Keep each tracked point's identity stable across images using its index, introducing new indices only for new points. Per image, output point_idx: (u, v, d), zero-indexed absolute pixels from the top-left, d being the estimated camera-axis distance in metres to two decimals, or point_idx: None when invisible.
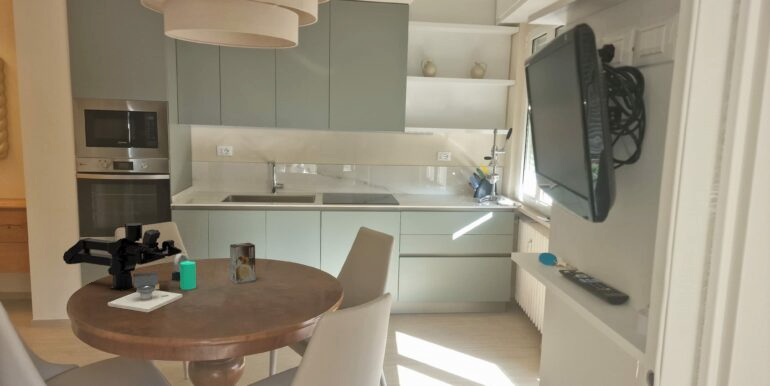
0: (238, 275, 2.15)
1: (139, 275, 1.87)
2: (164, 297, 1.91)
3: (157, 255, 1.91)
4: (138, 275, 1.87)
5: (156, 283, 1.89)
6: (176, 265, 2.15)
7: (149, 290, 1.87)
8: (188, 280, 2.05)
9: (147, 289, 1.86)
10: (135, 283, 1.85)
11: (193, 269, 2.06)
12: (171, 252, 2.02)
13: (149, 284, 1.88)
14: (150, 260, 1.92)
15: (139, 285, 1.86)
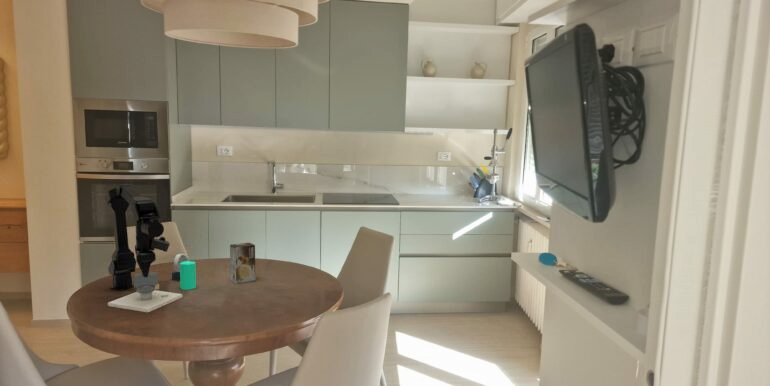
0: (238, 275, 2.15)
1: (139, 275, 1.87)
2: (164, 297, 1.91)
3: (147, 270, 1.84)
4: (138, 275, 1.87)
5: (156, 283, 1.89)
6: (176, 265, 2.15)
7: (149, 290, 1.87)
8: (188, 280, 2.05)
9: (147, 289, 1.86)
10: (135, 283, 1.85)
11: (193, 269, 2.06)
12: None
13: (149, 284, 1.88)
14: (140, 265, 1.82)
15: (139, 285, 1.86)
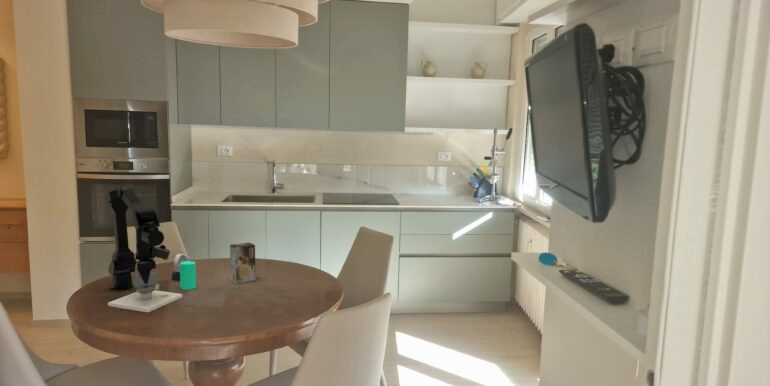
0: (238, 275, 2.15)
1: (139, 275, 1.87)
2: (164, 297, 1.91)
3: (147, 277, 1.86)
4: (138, 275, 1.87)
5: (156, 283, 1.89)
6: (176, 265, 2.15)
7: (149, 290, 1.87)
8: (188, 280, 2.05)
9: (147, 289, 1.86)
10: (135, 283, 1.85)
11: (193, 269, 2.06)
12: None
13: (149, 284, 1.88)
14: (140, 271, 1.84)
15: (139, 285, 1.86)
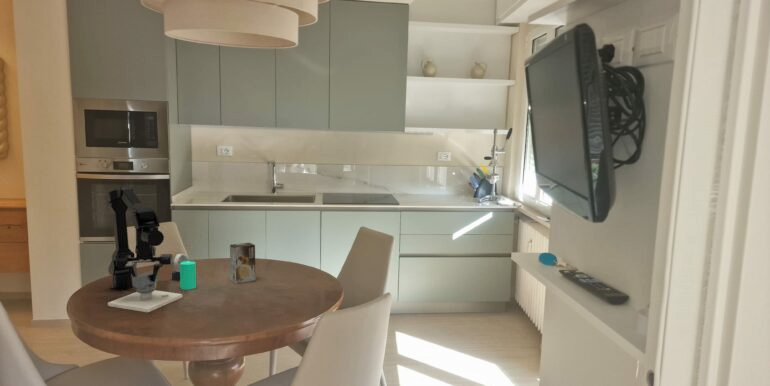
0: (238, 275, 2.15)
1: (143, 275, 1.87)
2: (164, 297, 1.91)
3: (156, 274, 1.90)
4: (141, 276, 1.86)
5: (157, 281, 1.92)
6: (176, 265, 2.15)
7: (154, 288, 1.89)
8: (188, 280, 2.05)
9: (153, 287, 1.88)
10: (143, 284, 1.85)
11: (193, 269, 2.06)
12: (135, 270, 1.86)
13: (152, 283, 1.89)
14: (157, 269, 1.88)
15: (145, 285, 1.86)
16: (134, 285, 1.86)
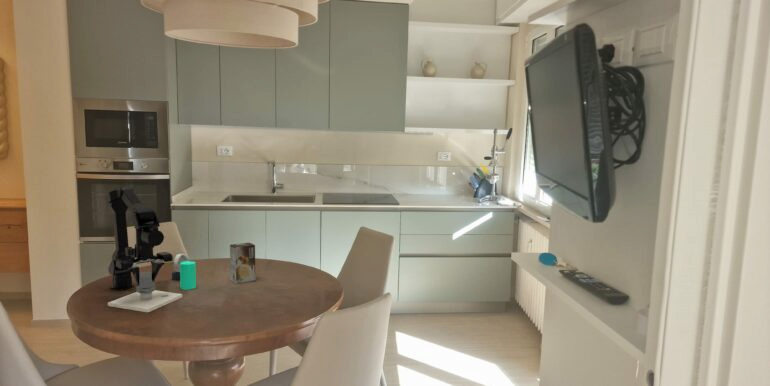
0: (238, 275, 2.15)
1: (147, 275, 1.87)
2: (164, 297, 1.91)
3: None
4: (147, 276, 1.87)
5: None
6: (176, 265, 2.15)
7: None
8: (188, 280, 2.05)
9: None
10: (151, 283, 1.86)
11: (193, 269, 2.06)
12: None
13: (151, 282, 1.91)
14: None
15: (151, 284, 1.88)
16: (140, 286, 1.85)
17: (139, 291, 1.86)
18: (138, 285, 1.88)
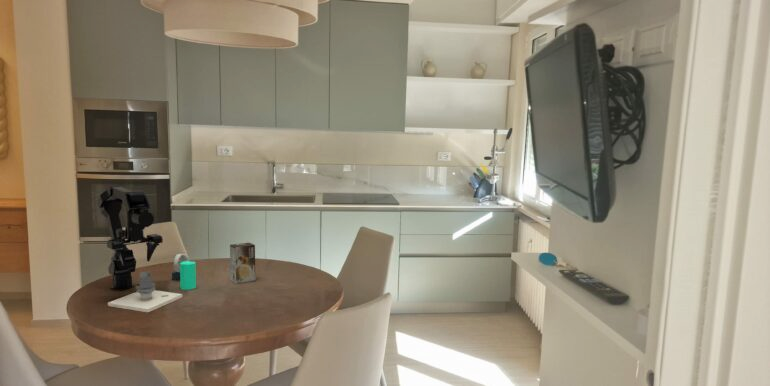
0: (238, 275, 2.15)
1: (147, 275, 1.87)
2: (164, 297, 1.91)
3: None
4: (147, 275, 1.87)
5: None
6: (176, 265, 2.15)
7: None
8: (188, 280, 2.05)
9: None
10: (151, 283, 1.87)
11: (193, 269, 2.06)
12: None
13: (151, 282, 1.91)
14: None
15: (151, 284, 1.88)
16: (141, 286, 1.85)
17: (139, 291, 1.86)
18: (138, 285, 1.88)
